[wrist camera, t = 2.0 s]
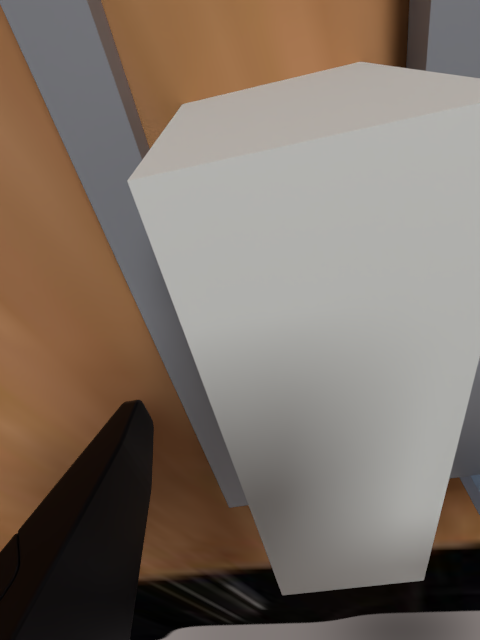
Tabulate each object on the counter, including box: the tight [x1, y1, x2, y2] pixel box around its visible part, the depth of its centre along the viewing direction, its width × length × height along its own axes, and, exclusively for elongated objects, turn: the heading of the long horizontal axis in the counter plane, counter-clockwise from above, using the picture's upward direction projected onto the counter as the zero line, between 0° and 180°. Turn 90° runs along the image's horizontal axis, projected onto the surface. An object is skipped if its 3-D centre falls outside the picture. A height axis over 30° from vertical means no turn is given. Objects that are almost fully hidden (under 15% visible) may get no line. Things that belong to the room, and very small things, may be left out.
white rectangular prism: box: [127, 62, 480, 595], centre depth 10 cm, size 4×12×6 cm, turn 11°
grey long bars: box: [0, 0, 480, 508], centre depth 11 cm, size 19×20×1 cm
